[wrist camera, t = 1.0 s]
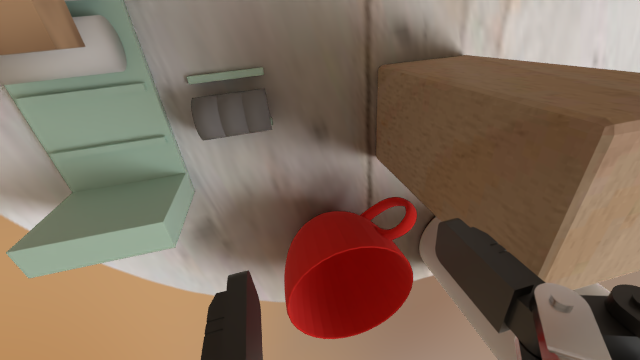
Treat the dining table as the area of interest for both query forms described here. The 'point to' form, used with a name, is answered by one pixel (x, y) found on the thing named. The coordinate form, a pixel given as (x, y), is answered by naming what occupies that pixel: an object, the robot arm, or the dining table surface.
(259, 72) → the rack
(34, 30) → the walnut slab
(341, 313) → the ceramic cup
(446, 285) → the cylinder vase
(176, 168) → the roller track
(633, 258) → the wooden block
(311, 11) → the dining table surface
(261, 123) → the roller
